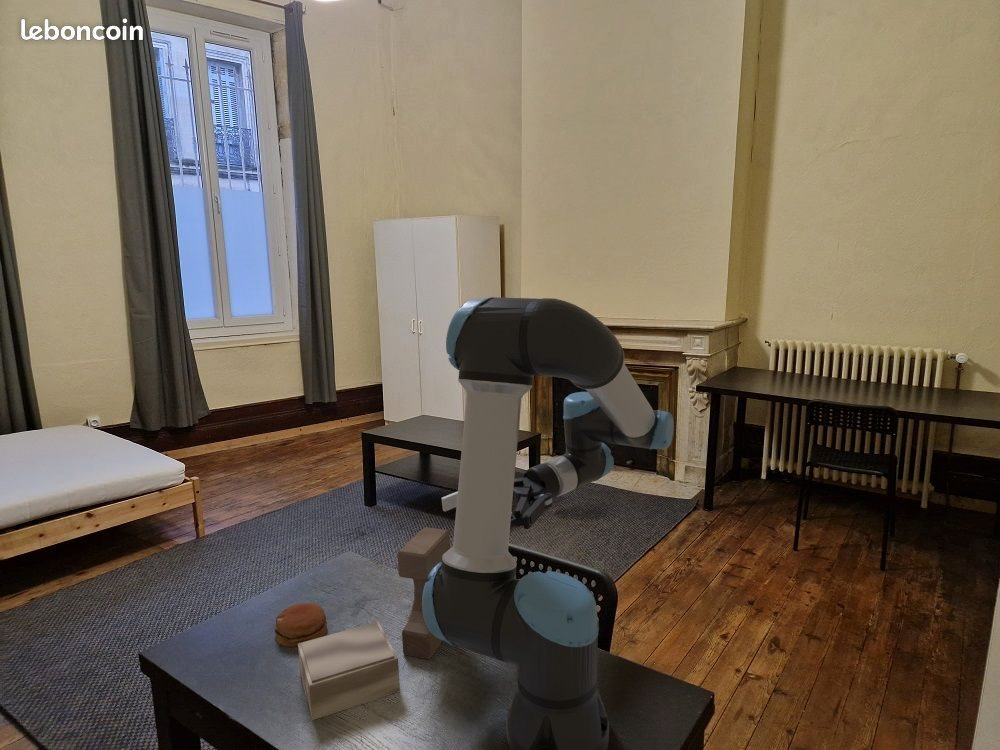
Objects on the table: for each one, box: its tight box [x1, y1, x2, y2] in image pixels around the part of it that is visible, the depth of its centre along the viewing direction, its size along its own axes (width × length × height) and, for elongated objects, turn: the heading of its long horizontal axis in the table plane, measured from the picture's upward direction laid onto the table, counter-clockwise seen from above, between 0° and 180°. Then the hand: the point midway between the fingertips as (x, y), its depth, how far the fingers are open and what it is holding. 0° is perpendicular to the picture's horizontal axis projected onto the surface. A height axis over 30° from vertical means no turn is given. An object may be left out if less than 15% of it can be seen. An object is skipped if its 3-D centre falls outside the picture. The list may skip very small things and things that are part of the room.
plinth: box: [297, 621, 401, 721], centre depth 103 cm, size 12×14×6 cm
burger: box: [274, 602, 328, 648], centre depth 118 cm, size 10×9×5 cm
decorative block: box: [396, 526, 451, 660], centre depth 113 cm, size 11×6×20 cm, turn 160°
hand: (461, 517), depth 113 cm, fingers open, 13 cm apart
